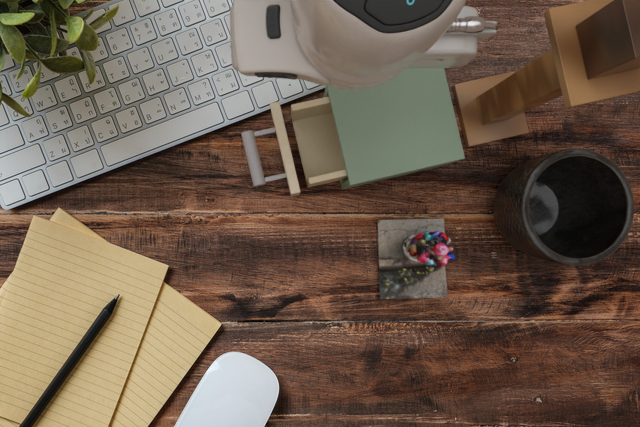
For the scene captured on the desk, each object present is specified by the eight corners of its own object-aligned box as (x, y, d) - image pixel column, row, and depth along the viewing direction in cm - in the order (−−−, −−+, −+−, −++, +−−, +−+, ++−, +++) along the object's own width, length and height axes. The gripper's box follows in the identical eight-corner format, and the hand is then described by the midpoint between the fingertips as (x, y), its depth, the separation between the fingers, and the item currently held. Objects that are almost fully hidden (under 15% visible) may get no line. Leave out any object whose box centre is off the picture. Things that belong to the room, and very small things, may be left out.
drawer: (259, 204, 66) (255, 202, 58) (240, 123, 66) (234, 110, 58) (385, 175, 67) (397, 169, 59) (366, 95, 67) (376, 79, 59)
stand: (451, 86, 69) (548, 8, 43) (511, 73, 69) (642, -12, 43) (465, 147, 69) (571, 106, 43) (525, 134, 69) (664, 85, 43)
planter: (478, 258, 69) (522, 267, 56) (477, 160, 69) (520, 148, 56) (572, 256, 70) (637, 265, 57) (571, 160, 70) (635, 147, 57)
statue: (375, 221, 69) (396, 206, 54) (439, 220, 69) (478, 205, 54) (378, 298, 68) (401, 305, 53) (444, 296, 68) (484, 303, 53)
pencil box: (574, 25, 43) (621, -6, 37) (626, 14, 43) (681, -19, 37) (587, 80, 43) (635, 58, 37) (639, 68, 43) (695, 44, 37)
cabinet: (341, 189, 67) (350, 185, 58) (321, 102, 67) (326, 83, 58) (440, 166, 68) (465, 158, 59) (420, 80, 68) (442, 58, 59)
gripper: (509, -26, 33) (452, 23, 47) (211, -22, 33) (242, 26, 46) (505, 69, 34) (451, 89, 48) (216, 73, 34) (245, 92, 47)
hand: (346, 58), depth 47 cm, fingers open, 8 cm apart
